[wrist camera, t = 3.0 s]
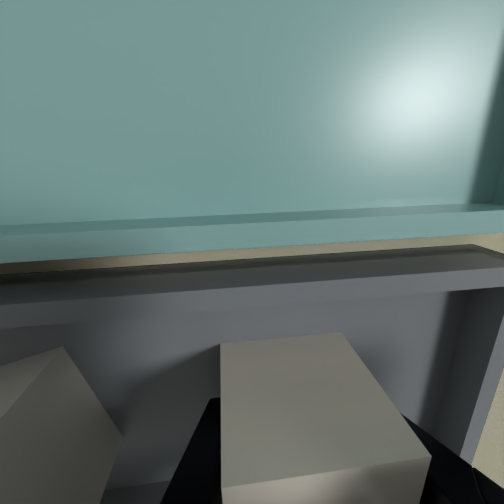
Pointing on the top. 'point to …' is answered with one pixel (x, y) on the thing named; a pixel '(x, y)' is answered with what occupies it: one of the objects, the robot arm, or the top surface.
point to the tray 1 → (246, 124)
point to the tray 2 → (264, 327)
